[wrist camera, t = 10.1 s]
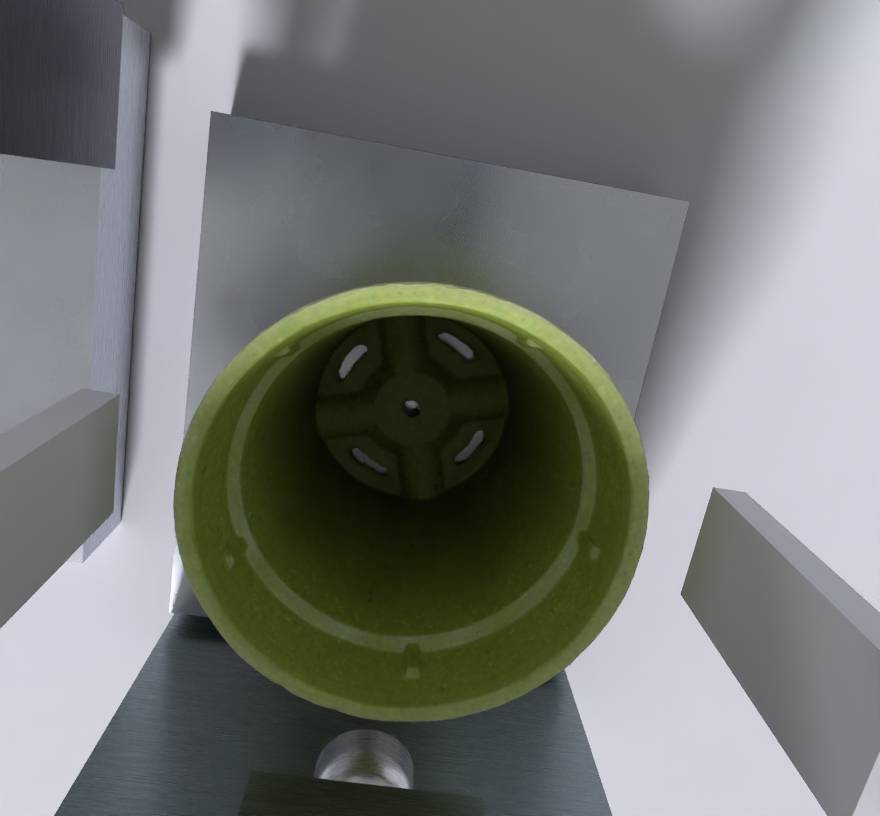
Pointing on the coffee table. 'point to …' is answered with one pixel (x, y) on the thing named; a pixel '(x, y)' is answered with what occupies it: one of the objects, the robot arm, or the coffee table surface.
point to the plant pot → (411, 502)
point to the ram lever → (60, 79)
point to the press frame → (243, 318)
